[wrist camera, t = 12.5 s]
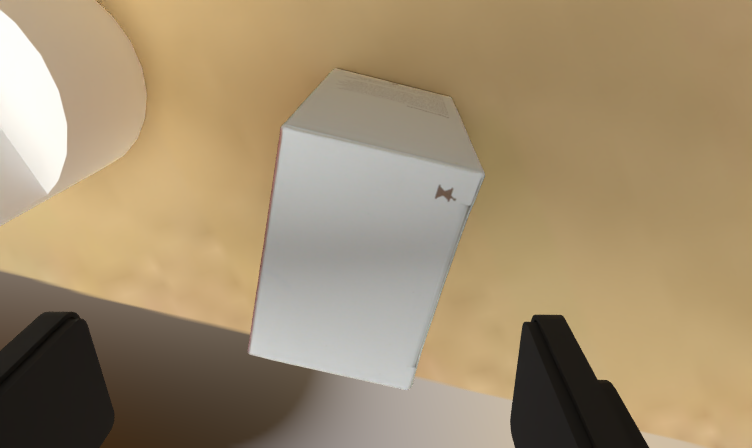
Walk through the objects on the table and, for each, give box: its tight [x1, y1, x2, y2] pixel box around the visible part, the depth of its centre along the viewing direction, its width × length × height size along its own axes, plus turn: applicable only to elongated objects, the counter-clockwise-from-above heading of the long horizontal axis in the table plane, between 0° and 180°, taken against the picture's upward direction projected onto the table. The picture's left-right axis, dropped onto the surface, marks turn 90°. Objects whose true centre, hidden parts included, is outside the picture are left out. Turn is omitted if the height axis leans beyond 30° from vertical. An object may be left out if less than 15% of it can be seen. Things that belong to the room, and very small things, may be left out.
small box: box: [247, 68, 485, 390], centre depth 19 cm, size 8×6×10 cm
